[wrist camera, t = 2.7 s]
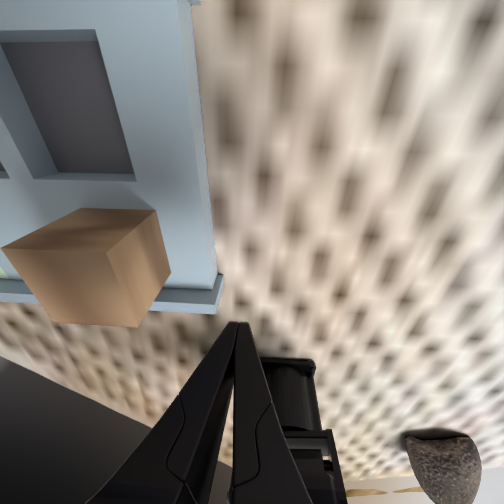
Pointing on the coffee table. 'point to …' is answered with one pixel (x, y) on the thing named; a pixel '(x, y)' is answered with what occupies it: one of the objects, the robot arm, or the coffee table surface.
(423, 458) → the stone
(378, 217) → the coffee table surface
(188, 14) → the trap box
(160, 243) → the block
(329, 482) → the robot arm
